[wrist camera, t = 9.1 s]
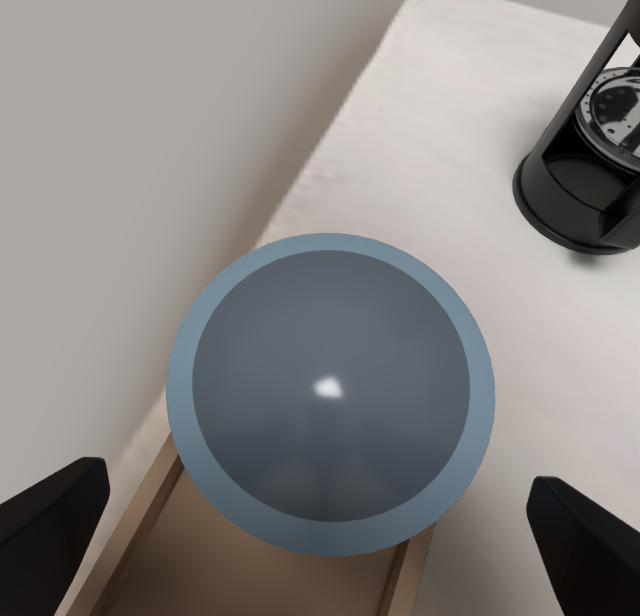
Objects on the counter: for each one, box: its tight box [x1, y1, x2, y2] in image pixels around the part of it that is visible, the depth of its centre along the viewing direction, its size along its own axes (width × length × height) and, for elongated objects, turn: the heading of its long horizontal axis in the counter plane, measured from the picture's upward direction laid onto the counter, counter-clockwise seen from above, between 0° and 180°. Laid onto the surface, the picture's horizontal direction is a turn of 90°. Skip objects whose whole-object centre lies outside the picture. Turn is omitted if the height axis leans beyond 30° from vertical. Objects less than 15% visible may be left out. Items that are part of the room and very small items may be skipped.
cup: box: [166, 233, 495, 556], centre depth 14 cm, size 6×6×13 cm
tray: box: [66, 432, 436, 616], centre depth 18 cm, size 20×12×2 cm, turn 157°
